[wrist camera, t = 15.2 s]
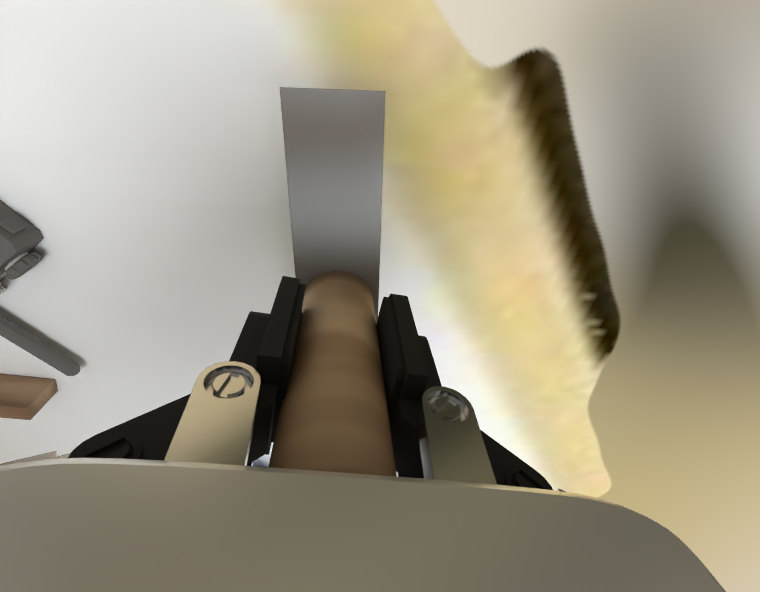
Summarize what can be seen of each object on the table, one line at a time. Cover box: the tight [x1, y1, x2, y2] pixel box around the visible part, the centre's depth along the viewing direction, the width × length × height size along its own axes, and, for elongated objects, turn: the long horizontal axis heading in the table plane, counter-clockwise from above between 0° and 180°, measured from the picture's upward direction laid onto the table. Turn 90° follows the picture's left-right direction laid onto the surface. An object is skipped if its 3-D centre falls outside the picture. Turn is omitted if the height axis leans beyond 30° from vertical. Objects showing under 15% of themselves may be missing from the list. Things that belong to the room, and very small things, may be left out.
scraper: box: [269, 87, 397, 477], centre depth 13 cm, size 14×3×13 cm, turn 178°
